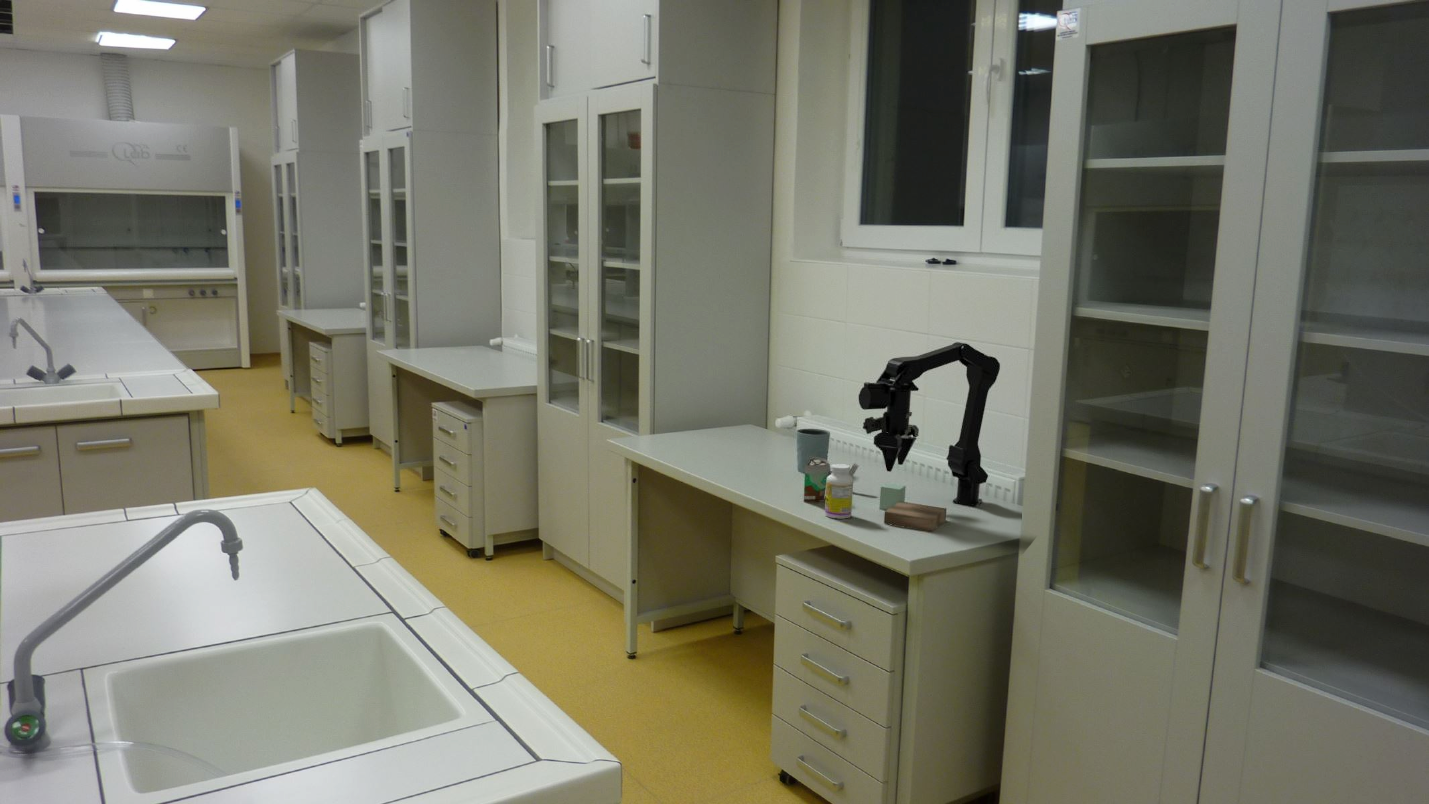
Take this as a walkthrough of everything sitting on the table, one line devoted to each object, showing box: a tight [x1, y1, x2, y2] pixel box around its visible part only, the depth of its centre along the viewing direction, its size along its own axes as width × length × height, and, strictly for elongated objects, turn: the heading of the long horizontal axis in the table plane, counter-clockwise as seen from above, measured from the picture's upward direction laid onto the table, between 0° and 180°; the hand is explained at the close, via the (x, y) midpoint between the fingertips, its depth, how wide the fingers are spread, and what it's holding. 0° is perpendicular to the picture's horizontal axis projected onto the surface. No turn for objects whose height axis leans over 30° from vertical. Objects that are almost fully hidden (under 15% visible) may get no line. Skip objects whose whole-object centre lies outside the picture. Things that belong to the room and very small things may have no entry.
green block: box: [878, 482, 906, 511], centre depth 261 cm, size 5×5×6 cm
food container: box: [803, 457, 831, 503], centre depth 269 cm, size 12×6×10 cm, turn 168°
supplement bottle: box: [824, 463, 854, 520], centre depth 252 cm, size 7×7×13 cm
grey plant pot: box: [795, 428, 831, 474], centre depth 300 cm, size 10×10×12 cm
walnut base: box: [883, 501, 948, 532], centre depth 250 cm, size 12×12×3 cm
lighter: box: [849, 462, 860, 478], centre depth 278 cm, size 7×2×8 cm, turn 70°
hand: (894, 467), depth 260 cm, fingers open, 9 cm apart
